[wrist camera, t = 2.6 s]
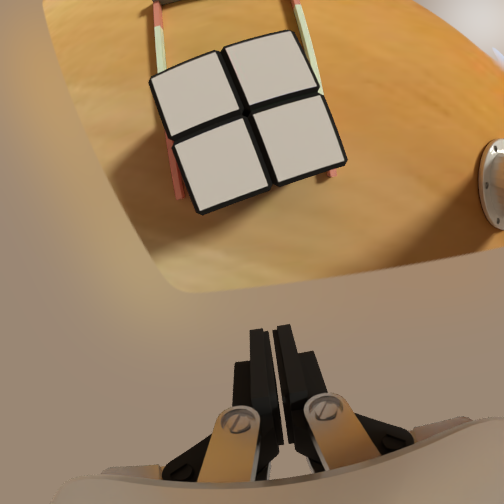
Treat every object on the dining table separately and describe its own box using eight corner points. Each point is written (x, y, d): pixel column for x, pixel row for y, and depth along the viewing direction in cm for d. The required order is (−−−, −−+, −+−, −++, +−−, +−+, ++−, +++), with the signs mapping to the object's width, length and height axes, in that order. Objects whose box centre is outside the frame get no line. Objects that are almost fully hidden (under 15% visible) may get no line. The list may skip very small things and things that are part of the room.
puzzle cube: (217, 201, 26) (197, 218, 17) (181, 108, 24) (144, 77, 14) (315, 166, 25) (351, 164, 16) (279, 73, 23) (292, 25, 13)
